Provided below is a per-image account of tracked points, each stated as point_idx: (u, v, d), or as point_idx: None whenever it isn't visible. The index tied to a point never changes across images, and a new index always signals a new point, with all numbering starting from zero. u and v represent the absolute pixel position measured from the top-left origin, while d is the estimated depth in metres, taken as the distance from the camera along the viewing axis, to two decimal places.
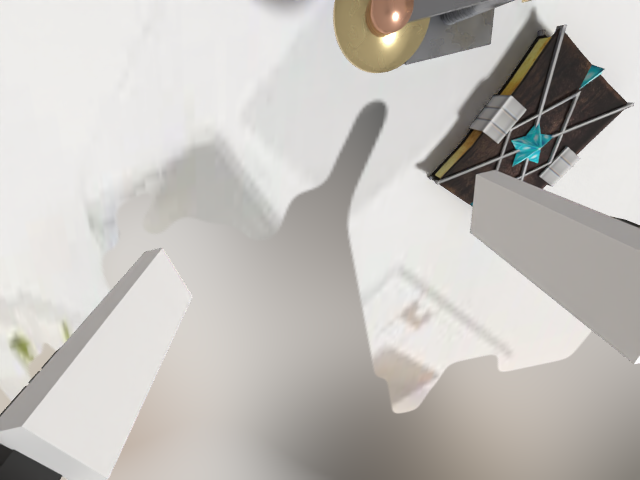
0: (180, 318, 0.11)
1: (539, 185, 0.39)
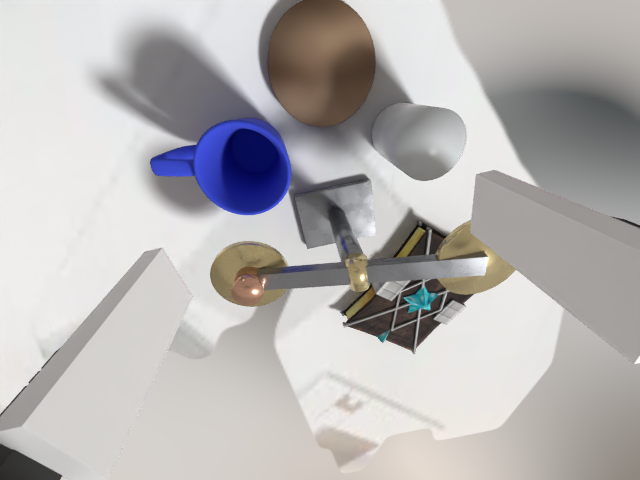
0: (180, 318, 0.11)
1: (435, 323, 0.46)
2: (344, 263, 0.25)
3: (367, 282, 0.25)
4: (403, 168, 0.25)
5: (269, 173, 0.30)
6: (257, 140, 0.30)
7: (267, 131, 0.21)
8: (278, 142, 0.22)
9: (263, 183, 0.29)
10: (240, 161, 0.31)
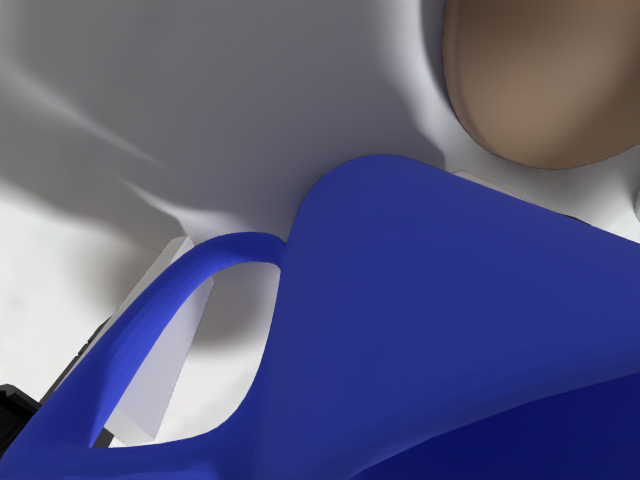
0: (205, 302, 0.11)
1: None
2: None
3: None
4: None
5: None
6: None
7: None
8: None
9: None
10: None
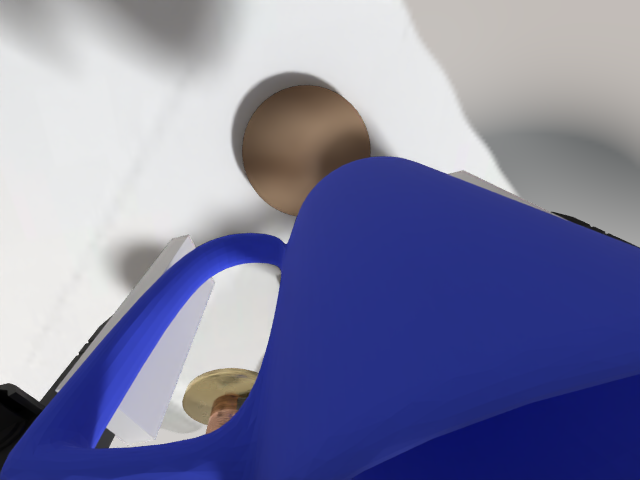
0: (205, 302, 0.11)
1: None
2: None
3: None
4: None
5: None
6: None
7: None
8: None
9: None
10: None
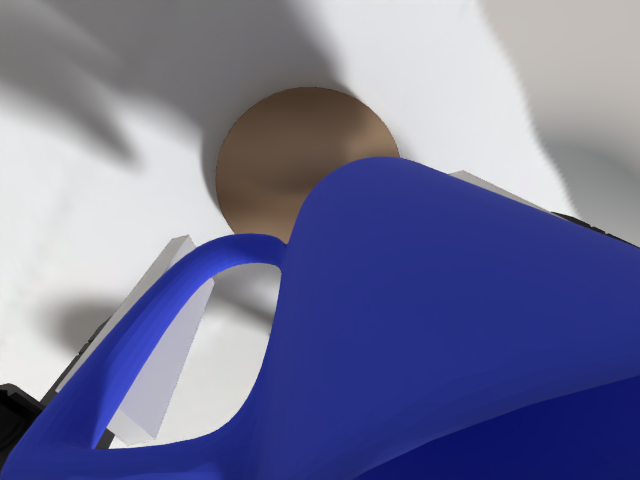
0: (205, 302, 0.11)
1: None
2: None
3: None
4: None
5: None
6: None
7: None
8: None
9: None
10: None
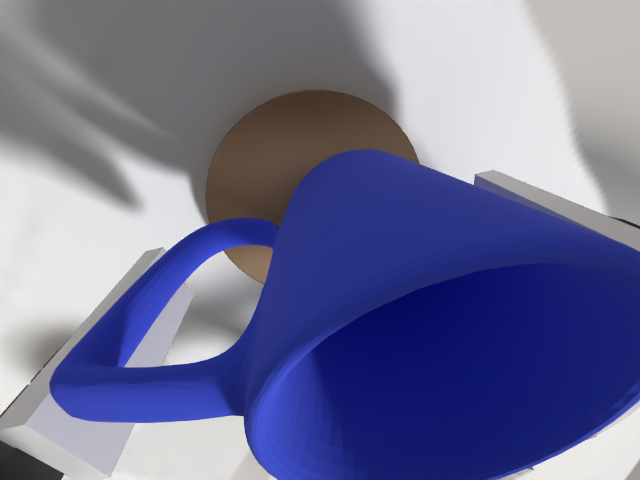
0: (181, 317, 0.11)
1: None
2: None
3: None
4: None
5: None
6: None
7: None
8: None
9: (395, 315, 0.11)
10: None
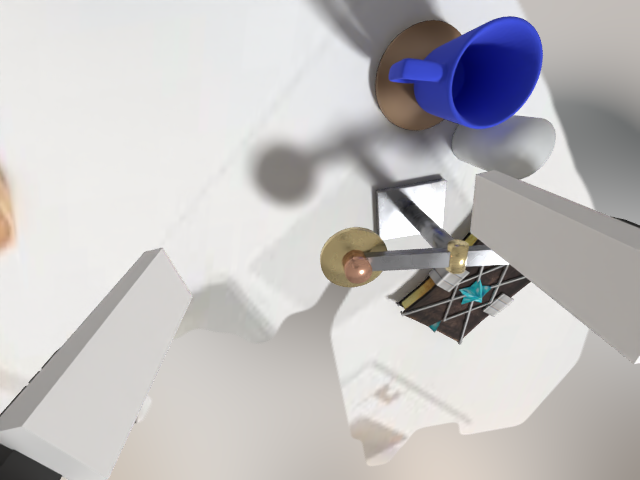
0: (180, 318, 0.11)
1: (483, 315, 0.50)
2: (445, 248, 0.29)
3: (465, 265, 0.29)
4: (497, 168, 0.29)
5: (456, 104, 0.30)
6: None
7: (536, 32, 0.21)
8: (541, 45, 0.22)
9: (461, 110, 0.29)
10: None
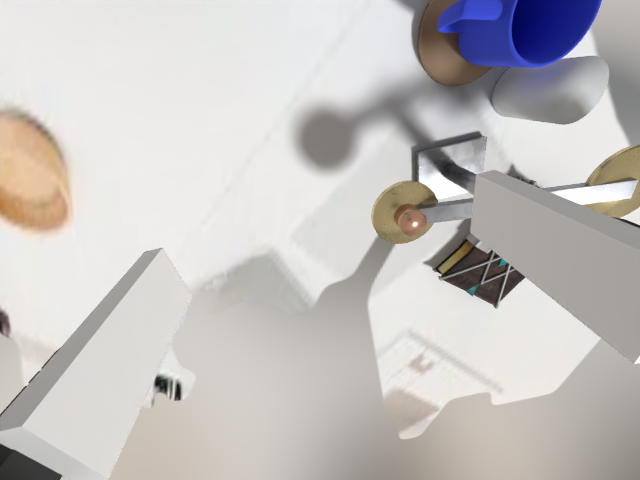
0: (180, 318, 0.11)
1: (521, 277, 0.50)
2: None
3: None
4: (549, 112, 0.29)
5: None
6: None
7: None
8: None
9: None
10: None
